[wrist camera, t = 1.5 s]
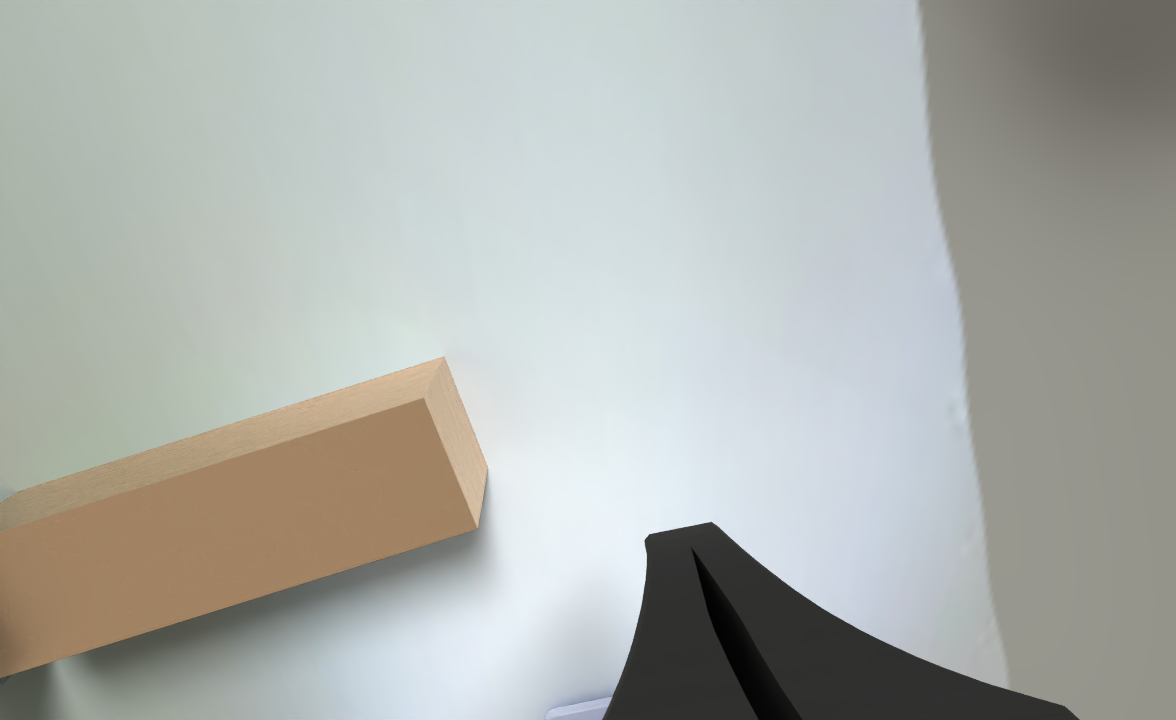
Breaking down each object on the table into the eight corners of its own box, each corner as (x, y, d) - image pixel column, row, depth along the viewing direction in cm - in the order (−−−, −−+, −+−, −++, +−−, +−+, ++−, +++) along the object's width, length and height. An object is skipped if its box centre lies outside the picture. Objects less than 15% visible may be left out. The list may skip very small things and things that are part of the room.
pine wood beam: (488, 464, 21) (477, 529, 18) (91, 588, 22) (-5, 679, 18) (445, 353, 20) (423, 397, 16) (25, 487, 20) (-93, 560, 17)
